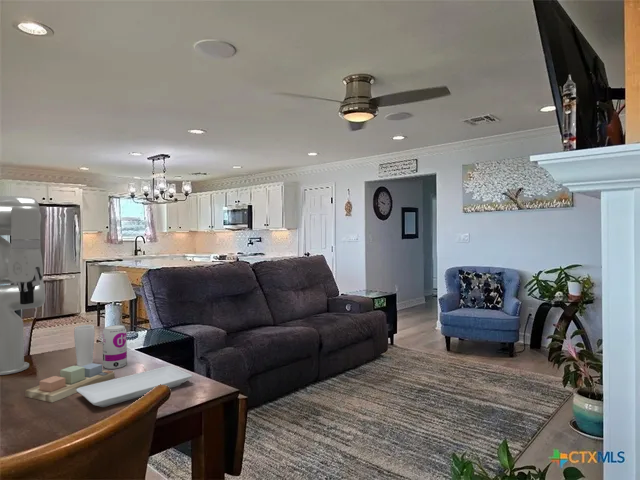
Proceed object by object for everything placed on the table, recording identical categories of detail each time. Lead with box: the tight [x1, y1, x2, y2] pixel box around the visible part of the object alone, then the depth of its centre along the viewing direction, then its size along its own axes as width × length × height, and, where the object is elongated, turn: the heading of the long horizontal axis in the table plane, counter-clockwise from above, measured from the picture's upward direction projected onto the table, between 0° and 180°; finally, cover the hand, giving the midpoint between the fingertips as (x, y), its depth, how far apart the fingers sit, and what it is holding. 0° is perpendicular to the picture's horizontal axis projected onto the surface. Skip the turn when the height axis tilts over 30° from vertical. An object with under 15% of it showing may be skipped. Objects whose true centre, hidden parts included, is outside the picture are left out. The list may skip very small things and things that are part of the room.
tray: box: [76, 365, 194, 408], centre depth 137 cm, size 17×32×4 cm, turn 136°
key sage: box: [59, 365, 85, 385], centre depth 140 cm, size 5×5×4 cm
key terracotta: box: [38, 375, 66, 393], centre depth 134 cm, size 5×5×4 cm
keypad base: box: [24, 369, 116, 403], centre depth 140 cm, size 12×23×2 cm, turn 159°
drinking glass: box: [73, 324, 96, 367], centre depth 161 cm, size 7×7×15 cm
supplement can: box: [102, 324, 128, 370], centre depth 161 cm, size 8×8×15 cm
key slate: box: [82, 362, 103, 378], centre depth 147 cm, size 5×5×4 cm
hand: (27, 303), depth 133 cm, fingers closed
